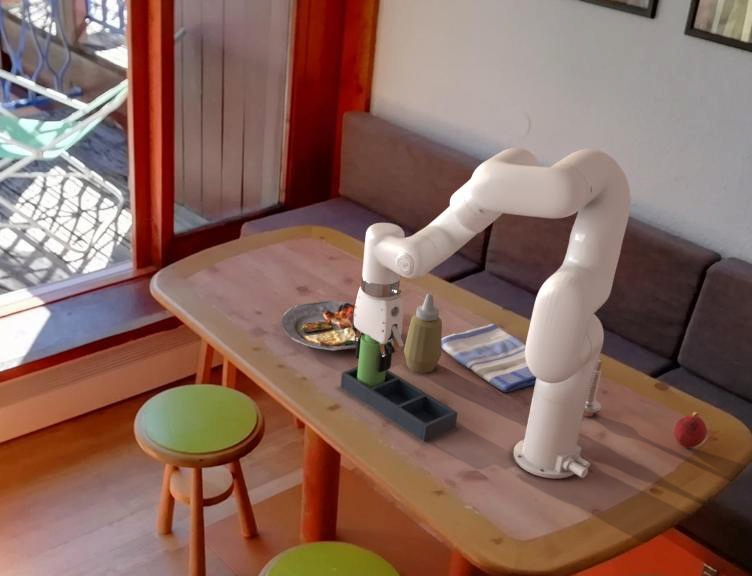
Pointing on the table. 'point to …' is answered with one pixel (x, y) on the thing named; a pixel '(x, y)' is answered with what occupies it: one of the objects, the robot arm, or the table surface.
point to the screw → (593, 392)
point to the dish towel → (491, 356)
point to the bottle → (369, 362)
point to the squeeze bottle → (424, 338)
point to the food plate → (321, 325)
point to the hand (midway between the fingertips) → (372, 362)
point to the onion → (690, 430)
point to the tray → (403, 404)
